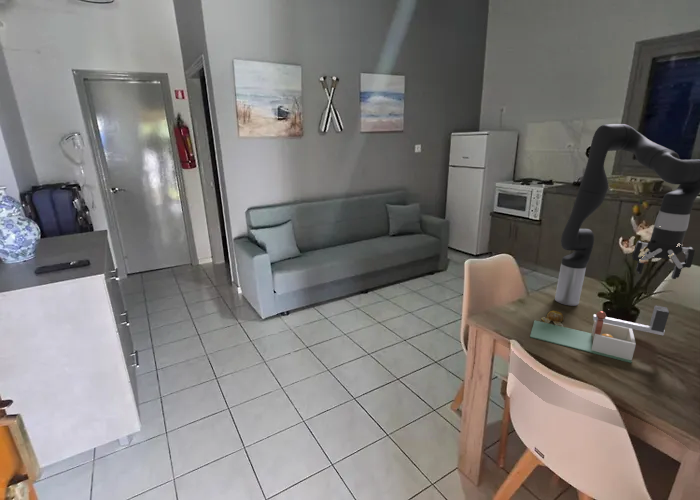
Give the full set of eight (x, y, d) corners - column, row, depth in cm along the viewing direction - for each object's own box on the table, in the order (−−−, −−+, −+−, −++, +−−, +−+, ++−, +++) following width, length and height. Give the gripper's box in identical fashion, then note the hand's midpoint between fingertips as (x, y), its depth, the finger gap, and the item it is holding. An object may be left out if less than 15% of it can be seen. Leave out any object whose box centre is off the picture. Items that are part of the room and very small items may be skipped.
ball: (615, 342, 126) (600, 343, 128) (612, 331, 125) (597, 331, 128) (616, 348, 122) (600, 349, 125) (613, 336, 122) (597, 337, 124)
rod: (588, 337, 130) (597, 294, 124) (655, 353, 120) (668, 307, 115) (588, 343, 126) (598, 299, 121) (657, 359, 117) (671, 312, 112)
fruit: (539, 321, 143) (541, 313, 142) (545, 314, 149) (546, 306, 148) (563, 328, 138) (564, 320, 137) (568, 320, 144) (569, 312, 143)
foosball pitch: (534, 321, 143) (536, 306, 141) (627, 342, 128) (631, 326, 126) (529, 337, 132) (532, 321, 130) (631, 363, 116) (636, 345, 115)
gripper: (698, 226, 109) (682, 276, 114) (639, 221, 116) (627, 267, 121) (705, 233, 103) (688, 284, 108) (642, 226, 110) (629, 275, 115)
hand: (655, 275), depth 115 cm, fingers open, 8 cm apart
